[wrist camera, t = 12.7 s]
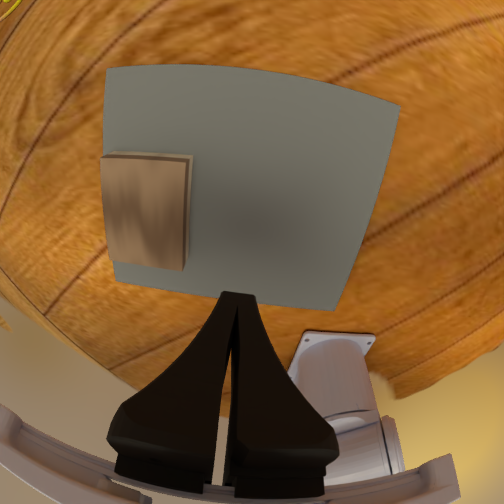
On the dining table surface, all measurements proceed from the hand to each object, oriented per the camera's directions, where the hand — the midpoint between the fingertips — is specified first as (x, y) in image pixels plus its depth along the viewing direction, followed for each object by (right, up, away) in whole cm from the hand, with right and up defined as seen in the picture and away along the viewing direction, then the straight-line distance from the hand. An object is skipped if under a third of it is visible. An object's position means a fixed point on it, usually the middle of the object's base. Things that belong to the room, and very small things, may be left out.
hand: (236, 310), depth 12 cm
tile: (-4, +5, +7) cm, 9 cm away
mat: (-1, +6, +8) cm, 10 cm away
